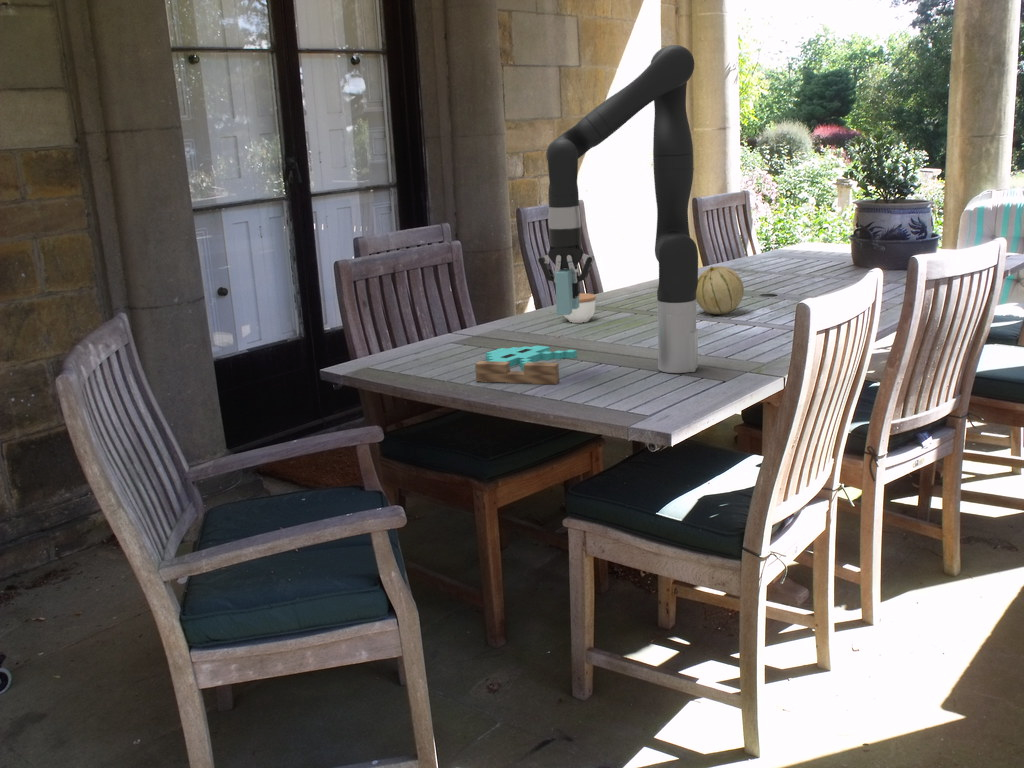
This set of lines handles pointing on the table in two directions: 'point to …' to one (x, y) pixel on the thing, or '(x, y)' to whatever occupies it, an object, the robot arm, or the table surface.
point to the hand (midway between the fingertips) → (567, 297)
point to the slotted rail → (517, 372)
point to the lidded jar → (583, 309)
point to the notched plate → (565, 293)
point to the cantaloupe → (719, 290)
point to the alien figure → (527, 355)
